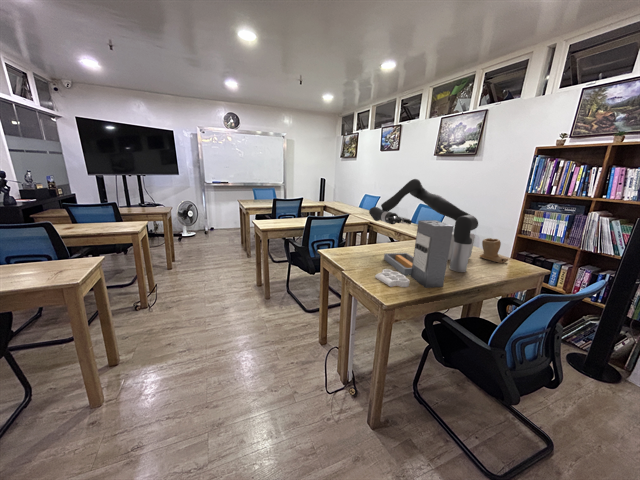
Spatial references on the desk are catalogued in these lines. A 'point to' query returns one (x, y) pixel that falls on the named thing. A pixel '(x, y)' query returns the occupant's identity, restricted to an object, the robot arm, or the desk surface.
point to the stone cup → (492, 250)
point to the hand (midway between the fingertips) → (405, 222)
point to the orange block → (403, 261)
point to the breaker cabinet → (431, 253)
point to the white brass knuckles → (392, 278)
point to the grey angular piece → (453, 243)
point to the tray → (397, 265)
